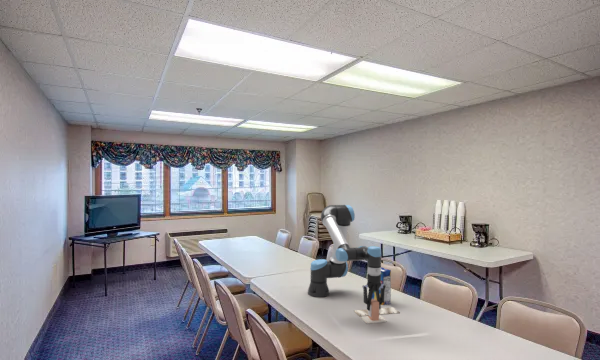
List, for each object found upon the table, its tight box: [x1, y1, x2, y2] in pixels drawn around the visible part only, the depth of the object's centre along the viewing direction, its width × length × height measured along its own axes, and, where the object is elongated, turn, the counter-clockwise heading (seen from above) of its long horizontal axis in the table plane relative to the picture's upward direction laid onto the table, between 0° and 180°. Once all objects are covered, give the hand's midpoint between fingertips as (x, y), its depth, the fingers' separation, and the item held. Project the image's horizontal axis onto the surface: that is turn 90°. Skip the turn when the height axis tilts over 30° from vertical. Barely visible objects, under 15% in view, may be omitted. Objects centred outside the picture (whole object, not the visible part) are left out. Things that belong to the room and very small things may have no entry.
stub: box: [360, 299, 388, 325], centre depth 184 cm, size 12×7×11 cm, turn 103°
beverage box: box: [372, 266, 392, 306], centre depth 216 cm, size 7×11×22 cm, turn 31°
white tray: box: [353, 306, 401, 318], centre depth 190 cm, size 26×18×2 cm
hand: (373, 315), depth 184 cm, fingers closed on stub, 4 cm apart
